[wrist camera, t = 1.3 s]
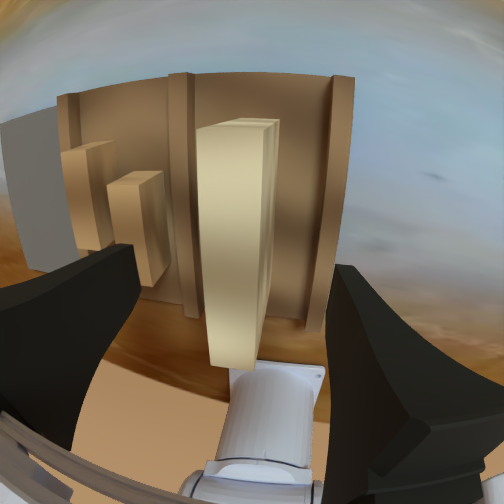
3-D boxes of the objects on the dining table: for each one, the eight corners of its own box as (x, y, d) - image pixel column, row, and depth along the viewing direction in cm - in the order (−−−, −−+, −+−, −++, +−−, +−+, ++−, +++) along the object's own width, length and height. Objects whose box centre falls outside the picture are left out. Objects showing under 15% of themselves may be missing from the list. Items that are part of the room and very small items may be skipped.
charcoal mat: (89, 277, 22) (85, 280, 22) (31, 265, 23) (28, 268, 23) (61, 105, 16) (57, 105, 15) (3, 123, 17) (-1, 124, 16)
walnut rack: (319, 313, 20) (320, 332, 19) (103, 284, 22) (91, 298, 21) (348, 80, 13) (354, 77, 12) (76, 94, 15) (56, 96, 14)
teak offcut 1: (125, 230, 19) (101, 251, 16) (102, 228, 19) (77, 248, 16) (115, 140, 16) (85, 149, 13) (90, 142, 16) (60, 152, 13)
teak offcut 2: (171, 261, 19) (152, 287, 17) (144, 258, 19) (123, 282, 17) (163, 170, 16) (138, 185, 14) (134, 171, 17) (106, 185, 14)
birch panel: (270, 285, 19) (254, 371, 13) (239, 282, 19) (210, 365, 13) (279, 119, 14) (263, 130, 8) (240, 118, 14) (196, 129, 8)
